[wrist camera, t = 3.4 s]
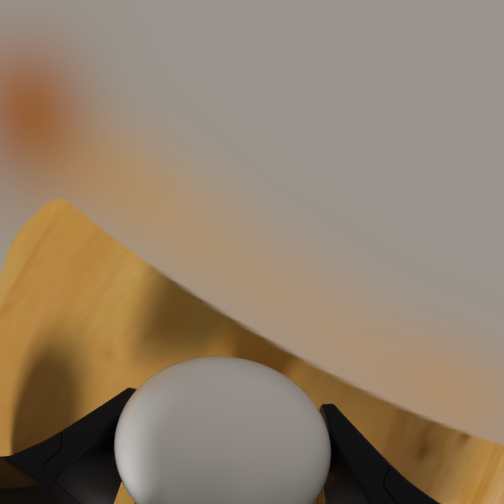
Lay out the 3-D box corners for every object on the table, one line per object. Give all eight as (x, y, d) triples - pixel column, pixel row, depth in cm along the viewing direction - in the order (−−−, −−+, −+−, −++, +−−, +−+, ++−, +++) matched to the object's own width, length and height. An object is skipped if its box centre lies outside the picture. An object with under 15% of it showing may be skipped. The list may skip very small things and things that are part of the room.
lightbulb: (261, 487, 11) (273, 603, 2) (164, 439, 13) (42, 483, 3) (311, 399, 14) (411, 405, 4) (213, 354, 15) (148, 285, 6)
